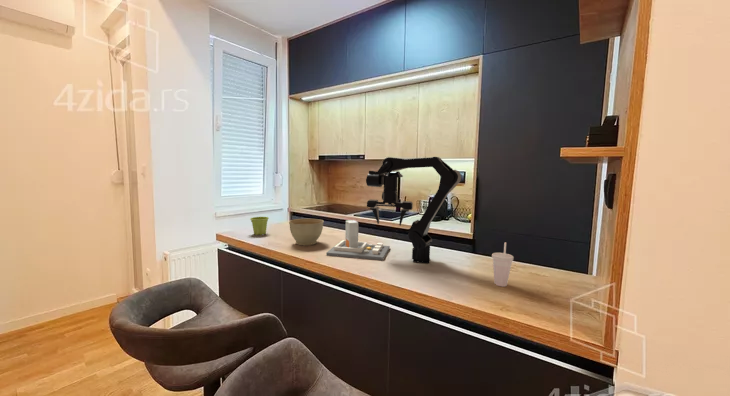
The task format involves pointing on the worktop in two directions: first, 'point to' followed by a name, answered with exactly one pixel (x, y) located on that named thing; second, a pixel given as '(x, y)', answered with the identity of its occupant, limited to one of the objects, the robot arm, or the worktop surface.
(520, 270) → the worktop surface
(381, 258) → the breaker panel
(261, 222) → the plant pot
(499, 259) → the smoothie
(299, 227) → the planter bowl
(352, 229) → the skincare box
